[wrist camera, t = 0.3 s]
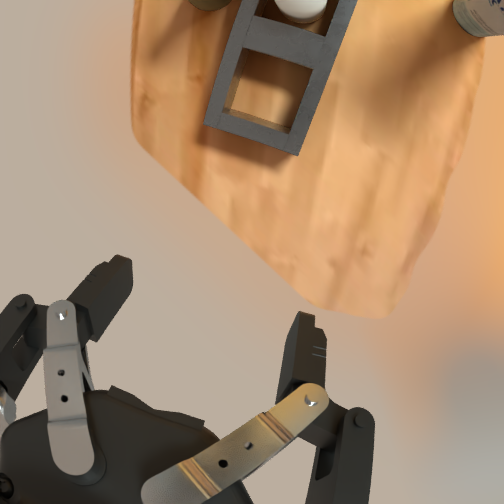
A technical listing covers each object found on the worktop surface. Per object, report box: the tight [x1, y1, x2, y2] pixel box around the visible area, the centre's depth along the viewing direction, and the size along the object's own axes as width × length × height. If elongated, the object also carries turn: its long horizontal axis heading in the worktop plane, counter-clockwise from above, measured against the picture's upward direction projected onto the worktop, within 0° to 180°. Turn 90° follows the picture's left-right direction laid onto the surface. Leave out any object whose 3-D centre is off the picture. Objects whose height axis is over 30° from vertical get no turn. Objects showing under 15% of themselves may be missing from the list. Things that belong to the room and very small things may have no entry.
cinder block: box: [203, 0, 357, 156], centre depth 28 cm, size 24×11×4 cm, turn 163°
